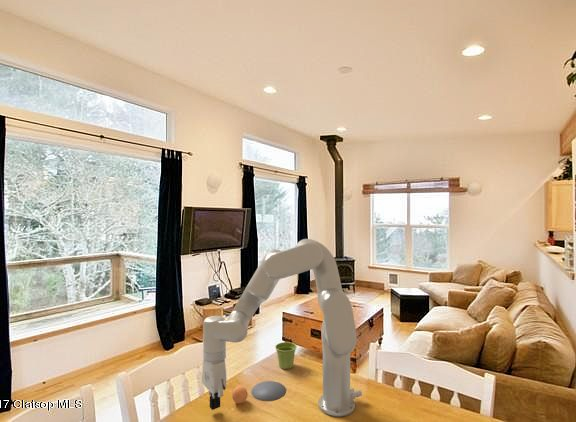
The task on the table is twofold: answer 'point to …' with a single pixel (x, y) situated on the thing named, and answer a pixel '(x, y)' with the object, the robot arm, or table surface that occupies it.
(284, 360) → the plant pot
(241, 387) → the ball
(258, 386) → the disc
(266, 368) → the table surface
